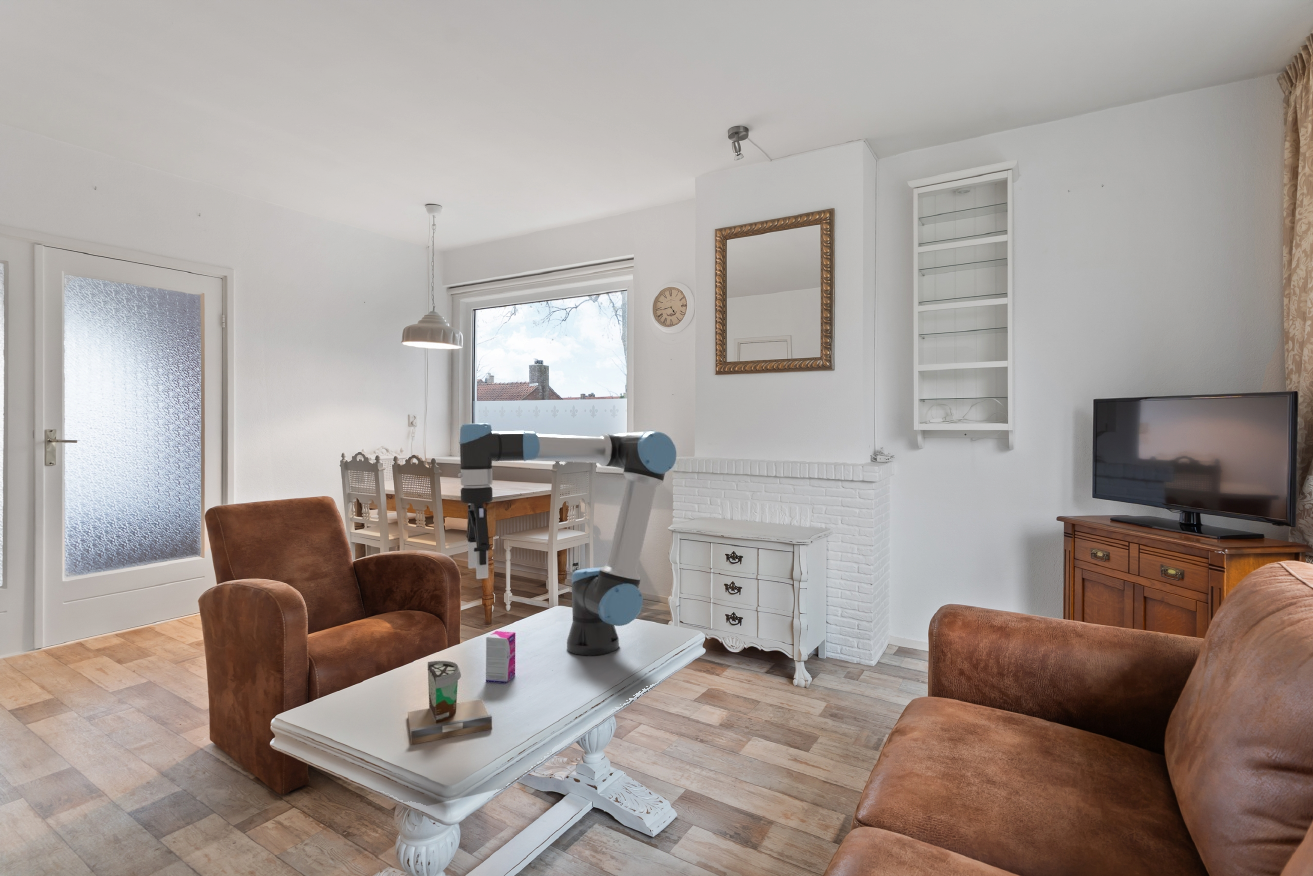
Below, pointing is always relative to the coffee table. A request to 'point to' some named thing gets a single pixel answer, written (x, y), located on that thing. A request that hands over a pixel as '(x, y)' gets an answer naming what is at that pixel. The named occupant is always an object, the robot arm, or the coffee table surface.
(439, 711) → the food container
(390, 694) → the coffee table surface
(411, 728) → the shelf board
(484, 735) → the coffee table surface
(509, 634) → the supplement box
